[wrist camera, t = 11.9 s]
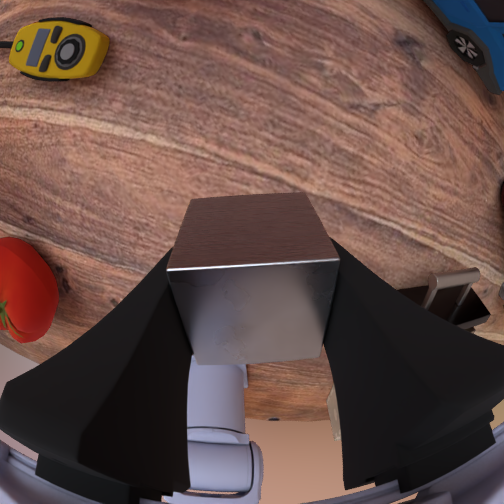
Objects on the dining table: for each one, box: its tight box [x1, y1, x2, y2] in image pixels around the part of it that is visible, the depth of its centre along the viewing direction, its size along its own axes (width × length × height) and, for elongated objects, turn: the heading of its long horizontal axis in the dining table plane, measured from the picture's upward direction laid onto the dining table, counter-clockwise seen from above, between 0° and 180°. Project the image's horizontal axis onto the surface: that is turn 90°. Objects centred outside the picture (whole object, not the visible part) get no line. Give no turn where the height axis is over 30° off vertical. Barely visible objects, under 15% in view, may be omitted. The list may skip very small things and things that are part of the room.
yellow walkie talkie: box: [0, 17, 110, 81], centre depth 9 cm, size 5×2×15 cm
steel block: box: [166, 192, 340, 365], centre depth 9 cm, size 4×4×4 cm
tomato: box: [0, 237, 59, 343], centre depth 18 cm, size 11×11×8 cm
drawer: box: [397, 267, 491, 334], centre depth 24 cm, size 19×12×6 cm, turn 2°
